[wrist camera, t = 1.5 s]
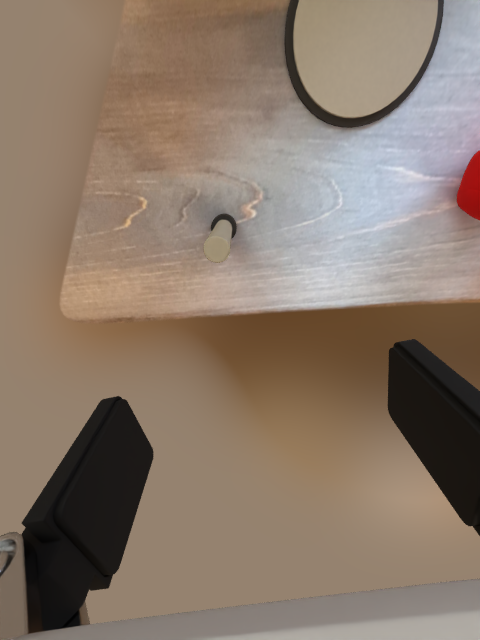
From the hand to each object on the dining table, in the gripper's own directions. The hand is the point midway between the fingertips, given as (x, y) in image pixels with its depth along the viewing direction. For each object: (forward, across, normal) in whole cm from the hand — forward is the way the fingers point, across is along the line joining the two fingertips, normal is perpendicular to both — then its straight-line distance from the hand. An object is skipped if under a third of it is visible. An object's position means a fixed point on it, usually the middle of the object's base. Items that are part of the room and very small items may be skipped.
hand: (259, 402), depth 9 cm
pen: (+21, +1, -4) cm, 21 cm away
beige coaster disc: (+21, -13, -15) cm, 29 cm away
